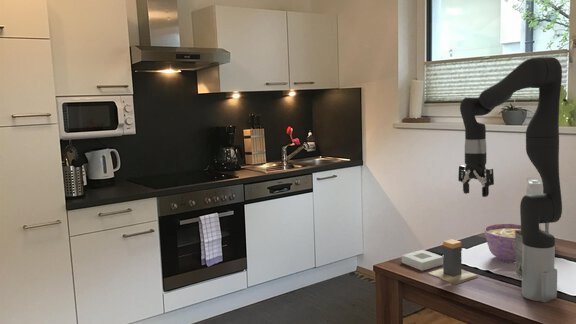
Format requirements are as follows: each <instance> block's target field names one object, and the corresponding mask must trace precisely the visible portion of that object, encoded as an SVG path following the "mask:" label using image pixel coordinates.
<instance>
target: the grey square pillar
mask: <svg viewBox="0 0 576 324" xmlns="http://www.w3.org/2000/svg"><path fill="white" fill-rule="evenodd" d="M442 249H443V250H442V251H443V265H442V268H443V273H444V274H446V275H449V276H452V277H454V276H457V275H460V274H462V270H463V268H462V265H463V263H462V241H460V240H456V239H453V238H451V239H447V240H443V242H442Z"/></svg>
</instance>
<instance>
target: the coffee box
mask: <svg viewBox="0 0 576 324" xmlns="http://www.w3.org/2000/svg"><path fill="white" fill-rule="evenodd" d="M539 230H540V229H539ZM540 231H542V232H545V230H542V229H541V230H540ZM546 233H547V232H546ZM514 264H515V266H514V267H515V274H516V275H517V276H519V277H520V278H521V279H522V234H521V230H516V231H515V263H514Z"/></svg>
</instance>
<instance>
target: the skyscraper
mask: <svg viewBox="0 0 576 324" xmlns="http://www.w3.org/2000/svg"><path fill="white" fill-rule="evenodd" d="M526 182H527V185H526V189H525V195H530V194H543V183H542V179H539V178H535V177H526ZM544 227H545V229H544V231H545V232H547V233H549V234H550V232H549V230H550V223H544ZM539 229H540V230H542V227H541V223H540V224H539Z"/></svg>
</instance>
